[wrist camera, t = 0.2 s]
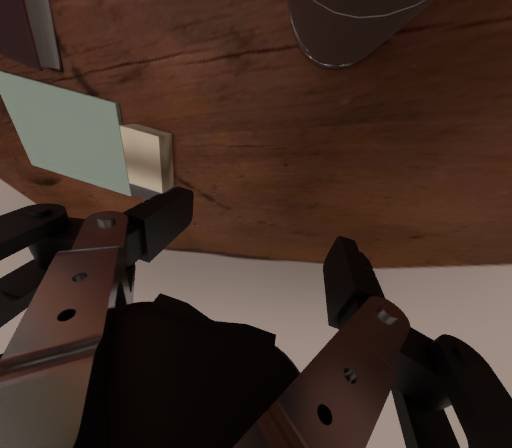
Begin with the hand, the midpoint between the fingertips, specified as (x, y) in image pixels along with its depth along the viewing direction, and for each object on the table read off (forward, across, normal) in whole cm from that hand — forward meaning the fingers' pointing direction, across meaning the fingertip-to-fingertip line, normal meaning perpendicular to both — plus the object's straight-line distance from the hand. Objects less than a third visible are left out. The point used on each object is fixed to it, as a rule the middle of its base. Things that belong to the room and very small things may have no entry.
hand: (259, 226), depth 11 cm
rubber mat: (+17, +34, +6) cm, 39 cm away
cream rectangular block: (+18, +19, +6) cm, 26 cm away
